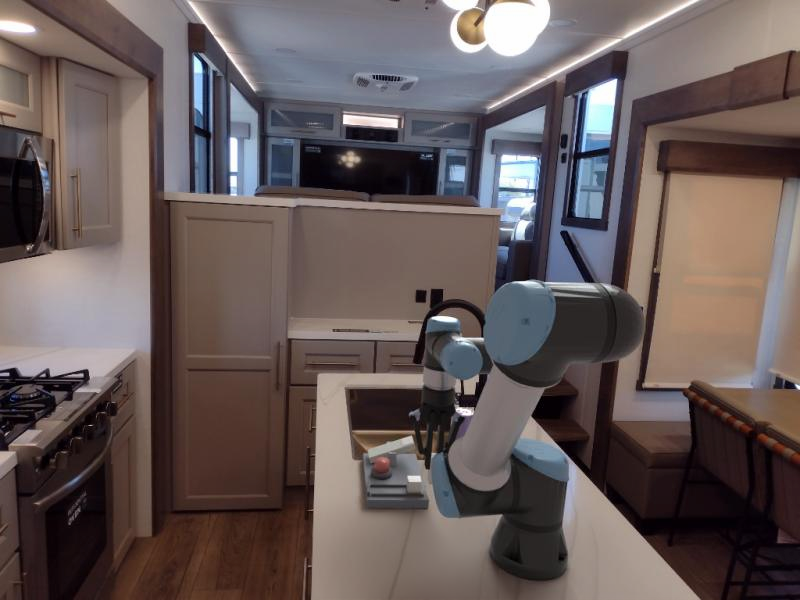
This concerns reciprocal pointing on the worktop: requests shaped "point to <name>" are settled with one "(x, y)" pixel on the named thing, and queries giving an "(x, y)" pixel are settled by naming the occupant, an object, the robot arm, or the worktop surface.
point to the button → (381, 465)
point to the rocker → (391, 448)
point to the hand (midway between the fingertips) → (431, 481)
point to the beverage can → (463, 427)
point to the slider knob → (414, 484)
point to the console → (393, 483)
